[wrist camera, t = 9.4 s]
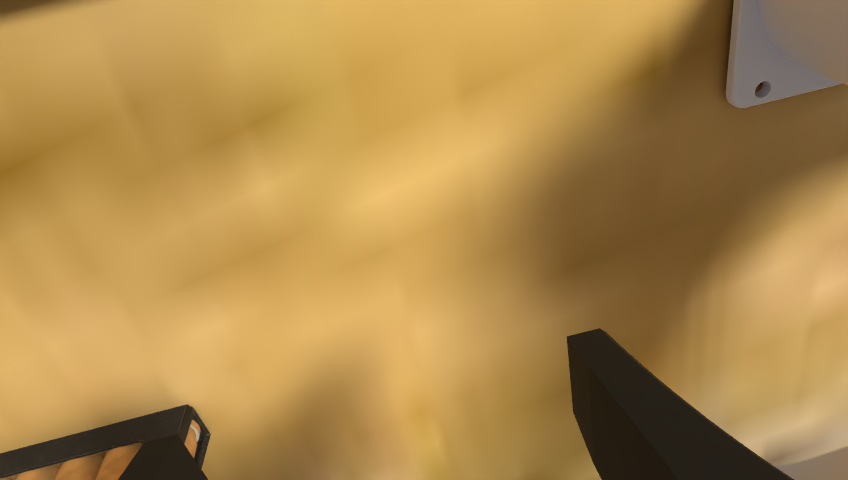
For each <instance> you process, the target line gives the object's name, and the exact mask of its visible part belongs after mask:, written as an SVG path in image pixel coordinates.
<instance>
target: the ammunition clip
mask: <svg viewBox="0 0 848 480" xmlns="http://www.w3.org/2000/svg"><path fill="white" fill-rule="evenodd" d="M176 434H178V435H179V437H180V438H181V440H182V441H183V443H184V444H185V446H186V447H187V449H188V450H189V452H190V453H191V455H192V456H193V458H194V459H195V461H196V462H197V464H198V465H199V467H200V468H202V465H203V461H204V457H205V454H206V450H207V446H208V443H209V439H210V435H211V434H210V433H209V431H208V430H207V428H206V427H205V425H204V423H203V422H202V420H201V419H200V417H199V416H198V414H197V413H196V411H195V410H194V408H193V407H191V406H189V405H183V406H179V407H175V408H172V409H168V410H164V411H160V412H156V413H153V414H149V415H145V416H141V417H138V418H134V419H130V420H126V421H122V422H119V423H115V424H111V425H107V426H103V427H100V428H96V429H92V430H88V431H84V432H81V433H77V434H73V435H69V436H65V437H62V438H58V439H54V440H50V441H46V442H43V443H39V444H35V445H31V446H28V447H24V448H20V449H16V450H12V451H9V452H5V453H1V454H0V480H118V479H119V477H120V476H121V474H122V473H123V472H124V470H125V469H126V467H127V466H128V464H129V463H130V462H131V460H132V459H133V457H134V456H135V455H136V453H137V452H138V451H139V449H140V448H141V446H142V445H143V444H144V442H148V441H152V440H156V439H160V438H164V437H168V436H172V435H176Z"/></svg>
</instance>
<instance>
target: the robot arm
mask: <svg viewBox="0 0 848 480" xmlns="http://www.w3.org/2000/svg"><path fill="white" fill-rule="evenodd" d="M762 82H763V86H762V88H761V89H760V91H759V92H757V93H755V90H756V87H757V86H758V85H759V84H760V83H762ZM840 84H845V85H848V0H734V5H733V16H732V28H731V39H730V51H729V62H728V73H727V85H726V100H727V101H728V102H729V104H731V105H733V106H735V107H737V108H747V107H751V106H755V105H759V104H763V103H767V102H771V101H775V100H779V99H783V98H787V97H791V96H795V95H799V94H803V93H808V92H812V91H816V90H820V89H824V88H828V87H832V86H836V85H840ZM567 344H568V356H569V368H570V380H571V391H572V403H573V413H574V415H575V418H576V420H577V423H578V425H579V428H580V431H581V433H582V436H583V438H584V441H585V443H586V446H587V448H588V451H589V453H590V456H591V458H592V461H593V463H594V465H595V467H596V469H597V471H598V473H599V475H600V477H601V479H602V480H794V479H792V478H791V477H789V476H788V475H786V474H785V473H783V472H782V471H780V470H779V469H777V468H776V467H774V466H773V465H771V464H770V463H768V462H767V461H765V460H764V459H762V458H761V457H760V456H758V455H757V454H755V453H754V452H752V451H751V450H750V449H748V448H747V447H745V446H744V445H743V444H741V443H740V442H739V441H737V440H736V439H734V438H733V437H732V436H730V435H729V434H727V433H726V432H725V431H723V430H722V429H721V428H719V427H718V426H717V425H715V424H714V423H713V422H711V421H710V420H709V419H707V418H706V417H705V416H704V415H702V414H701V413H700V412H699V411H697V410H696V409H695V408H693V407H692V406H691V405H690V404H688V403H687V402H686V401H685V400H683V399H682V398H681V397H680V396H678V395H677V394H676V393H675V392H673V391H672V390H671V389H670V388H668V387H667V386H666V385H665V384H664V383H662V382H661V381H660V380H659V379H658V378H656V377H655V376H654V375H653V374H652V373H651V372H649V371H648V370H647V369H646V368H645V367H644V366H642V365H641V364H640V363H639V362H638V361H637V360H636V359H635V358H633V357H632V356H631V355H630V354H629V353H628V352H627V351H626V350H625V349H623V348H622V347H621V346H620V345H619V344H618V343H617V342H616V341H615V340H614V339H613V338H611V337H610V336H609V335H608V334H607V333H606V332H605V331H603V330H601V329H600V328H599V329H595V330H591V331H587V332H583V333H579V334H575V335H571V336H567ZM118 480H208V479H207V477H206V476H205V474H204V473H203V471H202V470H201V468H200V467H199V465H198V464H197V462H196V461H195V459H194V458H193V456H192V455H191V453H190V452H189V450H188V449H187V447H186V446H185V444H184V443H183V441H182V440H181V438H180V437H179V435H178V434H176V435H172V436H168V437H164V438H160V439H156V440H152V441H148V442H144V444H143V445H142V446H141V448H140V449H139V451H138V452H137V453H136V455H135V456H134V457H133V459H132V460H131V462H130V463H129V464H128V466H127V467H126V469H125V470H124V472H123V473H122V474H121V476H120V477H119V479H118Z"/></svg>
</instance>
